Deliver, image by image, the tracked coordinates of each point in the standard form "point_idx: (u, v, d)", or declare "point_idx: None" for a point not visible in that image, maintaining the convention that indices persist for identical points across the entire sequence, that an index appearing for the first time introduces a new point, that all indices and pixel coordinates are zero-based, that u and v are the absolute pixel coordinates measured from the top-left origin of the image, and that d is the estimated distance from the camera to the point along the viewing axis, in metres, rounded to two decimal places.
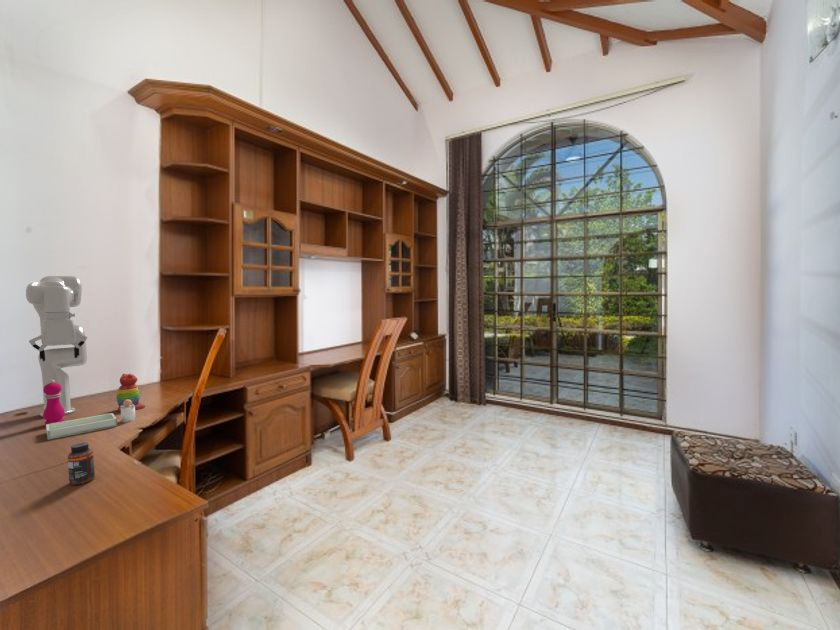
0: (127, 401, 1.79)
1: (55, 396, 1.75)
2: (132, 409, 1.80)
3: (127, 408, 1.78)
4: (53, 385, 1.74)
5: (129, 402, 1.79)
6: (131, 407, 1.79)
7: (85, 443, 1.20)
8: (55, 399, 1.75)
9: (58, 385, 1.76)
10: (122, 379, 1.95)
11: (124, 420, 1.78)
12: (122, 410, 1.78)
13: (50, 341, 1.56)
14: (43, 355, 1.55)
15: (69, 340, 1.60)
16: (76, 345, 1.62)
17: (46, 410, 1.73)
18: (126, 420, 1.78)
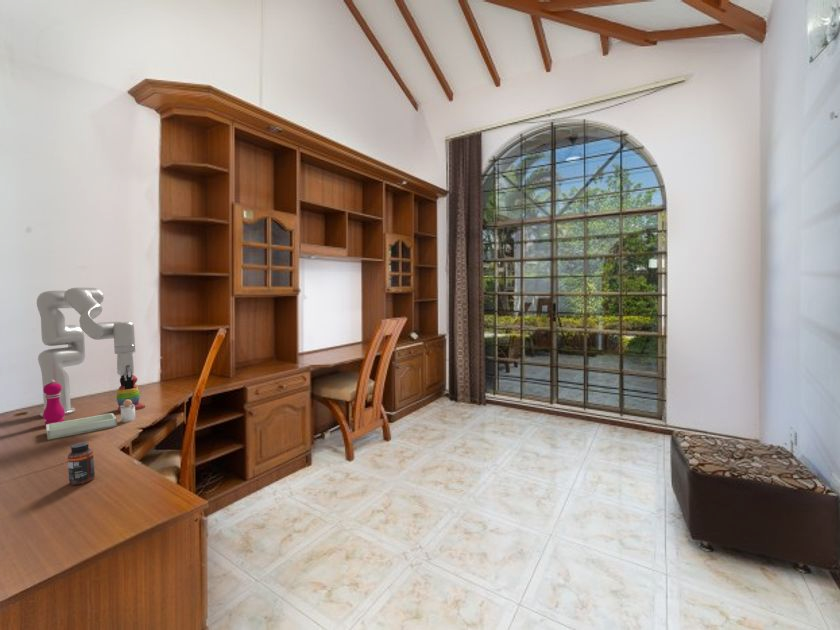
0: (127, 401, 1.79)
1: (55, 396, 1.75)
2: (132, 409, 1.80)
3: (127, 408, 1.78)
4: (53, 385, 1.74)
5: (129, 402, 1.79)
6: (131, 407, 1.79)
7: (85, 443, 1.20)
8: (55, 399, 1.75)
9: (58, 385, 1.76)
10: None
11: (124, 420, 1.78)
12: (122, 410, 1.78)
13: None
14: None
15: None
16: None
17: (46, 410, 1.73)
18: (126, 420, 1.78)
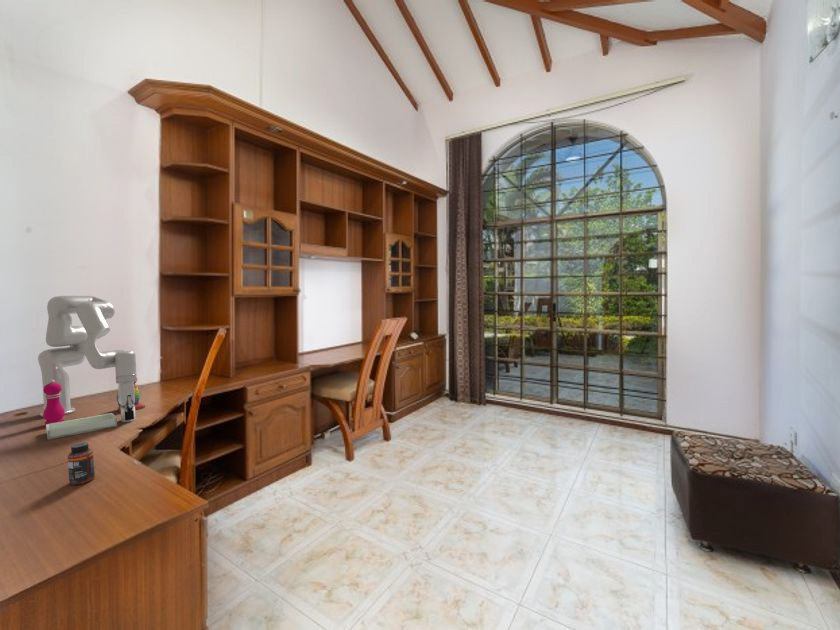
0: None
1: (55, 396, 1.75)
2: None
3: None
4: (53, 385, 1.74)
5: None
6: None
7: (85, 443, 1.20)
8: (55, 399, 1.75)
9: (58, 385, 1.76)
10: None
11: (124, 420, 1.78)
12: (122, 410, 1.78)
13: None
14: None
15: None
16: None
17: (46, 410, 1.73)
18: None
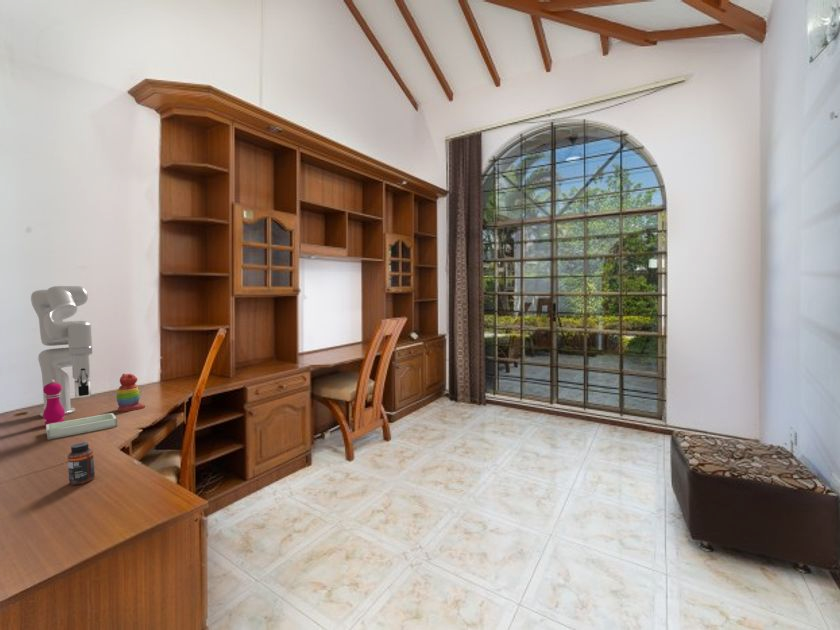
0: None
1: (55, 396, 1.75)
2: None
3: None
4: (53, 385, 1.74)
5: None
6: None
7: (85, 443, 1.20)
8: (55, 399, 1.75)
9: (58, 385, 1.76)
10: (122, 379, 1.95)
11: (78, 395, 1.66)
12: (76, 385, 1.66)
13: None
14: None
15: None
16: None
17: (46, 410, 1.73)
18: None
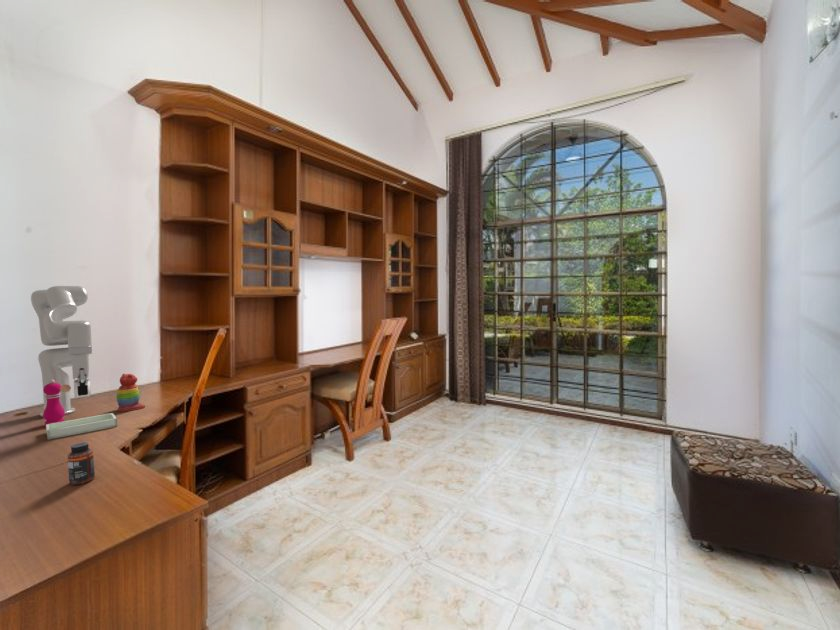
0: (63, 391, 1.64)
1: (55, 396, 1.75)
2: None
3: None
4: (53, 385, 1.74)
5: (61, 390, 1.64)
6: None
7: (85, 443, 1.20)
8: (55, 399, 1.75)
9: (58, 385, 1.76)
10: (122, 379, 1.95)
11: (77, 395, 1.66)
12: (75, 384, 1.66)
13: (88, 373, 1.67)
14: None
15: None
16: None
17: (46, 410, 1.73)
18: None
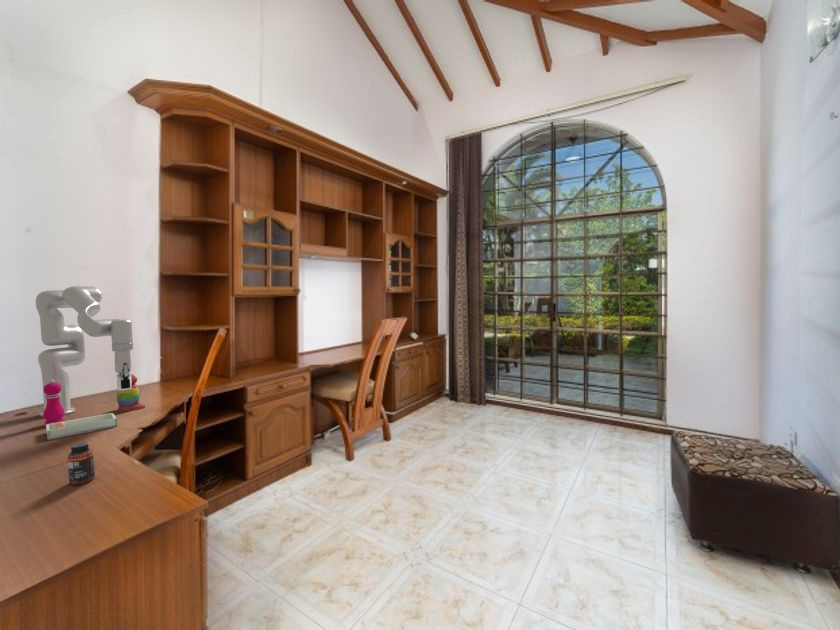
0: (57, 423, 1.66)
1: (55, 396, 1.75)
2: None
3: None
4: (53, 385, 1.74)
5: (60, 422, 1.66)
6: None
7: (85, 443, 1.20)
8: (55, 399, 1.75)
9: (58, 385, 1.76)
10: None
11: (120, 388, 1.77)
12: (118, 378, 1.76)
13: None
14: None
15: None
16: None
17: (46, 410, 1.73)
18: None
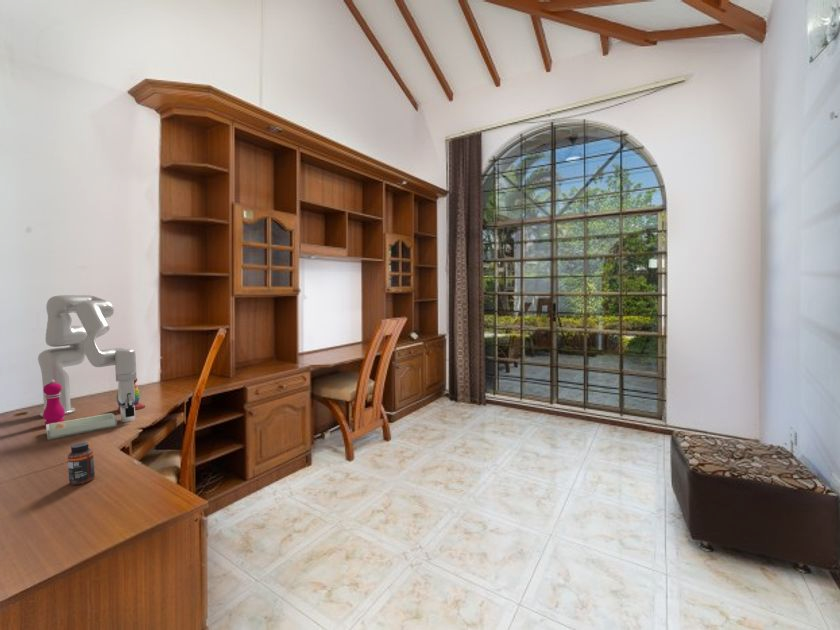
0: (58, 425, 1.64)
1: (55, 396, 1.75)
2: None
3: None
4: (53, 385, 1.74)
5: (60, 426, 1.64)
6: None
7: (85, 443, 1.20)
8: (55, 399, 1.75)
9: (58, 385, 1.76)
10: None
11: (124, 420, 1.78)
12: (122, 410, 1.78)
13: None
14: None
15: None
16: None
17: (46, 410, 1.73)
18: (126, 420, 1.78)
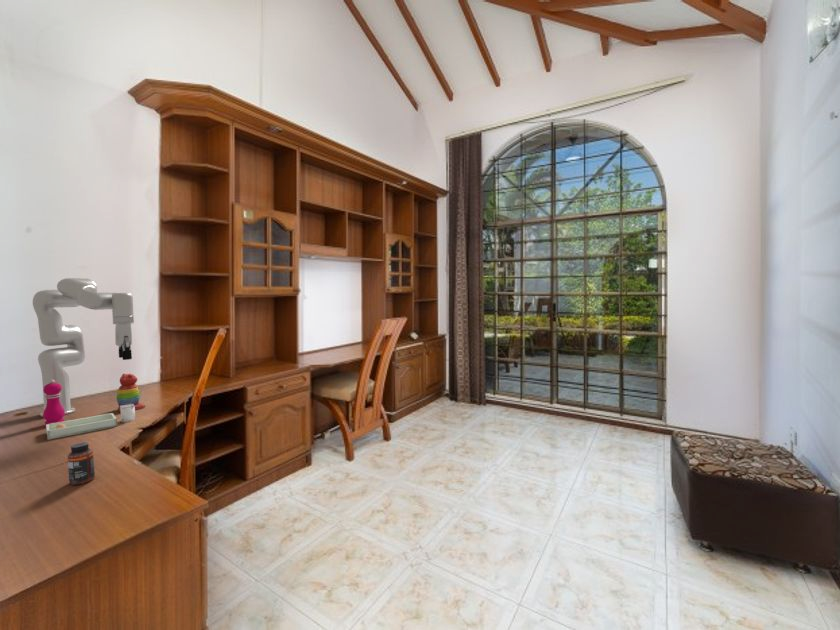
0: None
1: (55, 396, 1.75)
2: (132, 409, 1.80)
3: (127, 408, 1.78)
4: (53, 385, 1.74)
5: None
6: (131, 407, 1.79)
7: (85, 443, 1.20)
8: (55, 399, 1.75)
9: (58, 385, 1.76)
10: (122, 379, 1.95)
11: (124, 420, 1.78)
12: (122, 410, 1.78)
13: None
14: None
15: None
16: None
17: (46, 410, 1.73)
18: (126, 420, 1.78)
